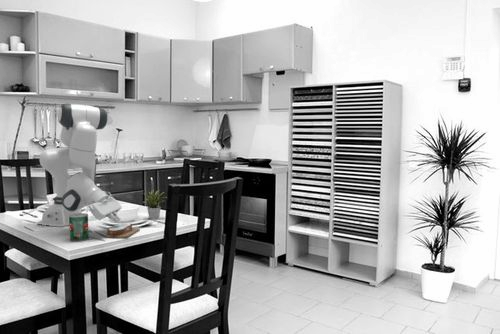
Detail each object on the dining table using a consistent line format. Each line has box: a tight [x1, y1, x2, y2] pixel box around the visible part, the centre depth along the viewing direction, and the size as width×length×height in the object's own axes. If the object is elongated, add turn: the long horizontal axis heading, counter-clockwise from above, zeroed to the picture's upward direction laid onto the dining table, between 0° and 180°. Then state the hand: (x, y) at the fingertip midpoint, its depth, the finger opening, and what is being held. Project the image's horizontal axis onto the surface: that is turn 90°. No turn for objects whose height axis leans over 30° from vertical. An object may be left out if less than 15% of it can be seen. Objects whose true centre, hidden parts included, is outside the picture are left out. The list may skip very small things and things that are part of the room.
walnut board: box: [107, 227, 141, 240], centre depth 203 cm, size 9×15×1 cm, turn 172°
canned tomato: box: [68, 213, 90, 243], centre depth 193 cm, size 8×8×11 cm
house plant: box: [141, 188, 168, 220], centre depth 235 cm, size 14×14×16 cm
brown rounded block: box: [106, 222, 133, 236], centre depth 203 cm, size 15×3×8 cm
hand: (118, 221), depth 203 cm, fingers closed
